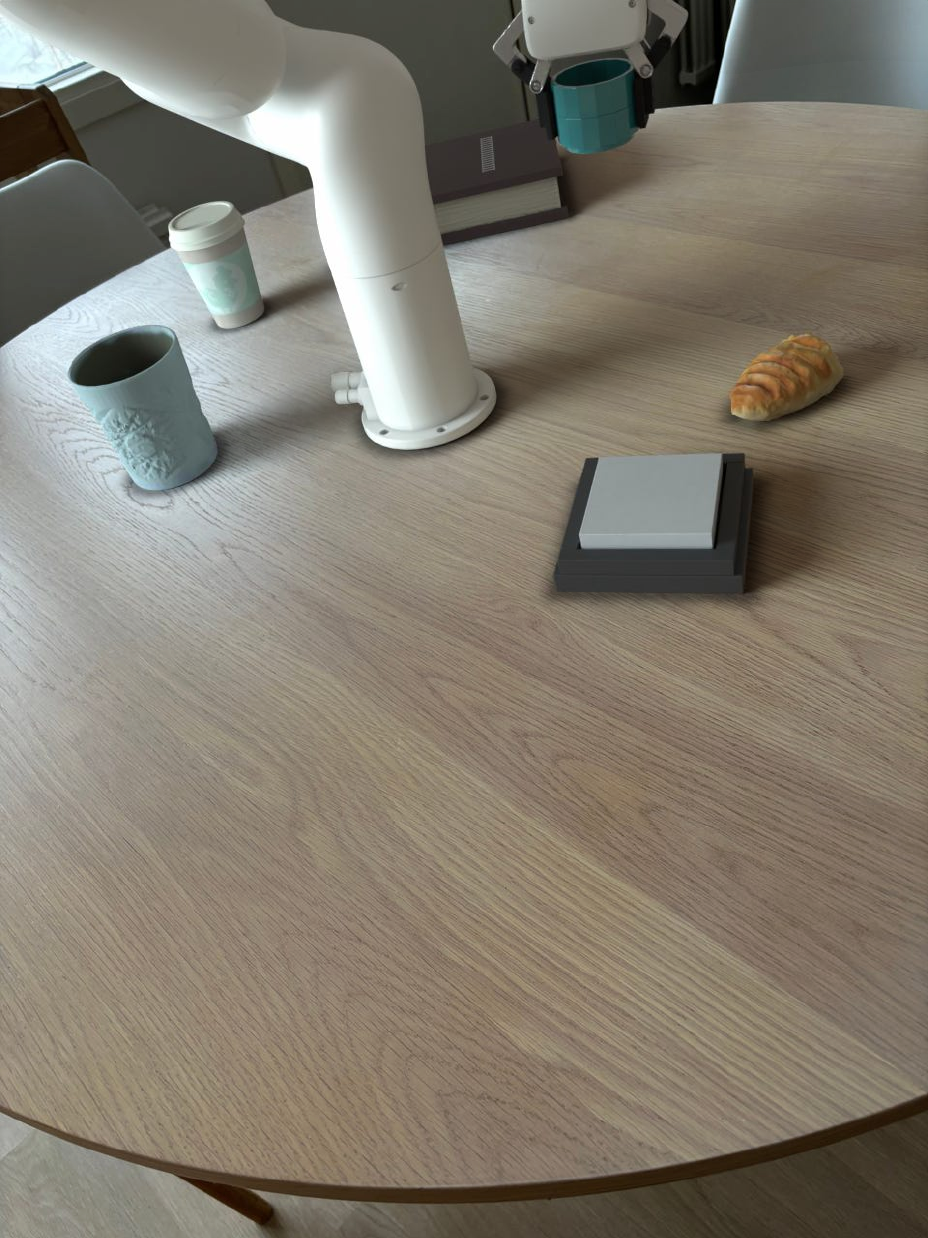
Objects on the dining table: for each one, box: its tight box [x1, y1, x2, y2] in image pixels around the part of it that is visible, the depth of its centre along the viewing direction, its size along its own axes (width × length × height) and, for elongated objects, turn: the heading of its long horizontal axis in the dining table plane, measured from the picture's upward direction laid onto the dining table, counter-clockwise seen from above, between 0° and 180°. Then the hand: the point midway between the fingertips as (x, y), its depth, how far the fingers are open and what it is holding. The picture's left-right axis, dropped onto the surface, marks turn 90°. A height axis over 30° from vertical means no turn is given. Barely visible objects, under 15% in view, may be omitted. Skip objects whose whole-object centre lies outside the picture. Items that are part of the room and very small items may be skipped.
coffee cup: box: [168, 200, 265, 330], centre depth 114 cm, size 8×8×12 cm
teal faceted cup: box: [550, 57, 640, 155], centre depth 88 cm, size 7×7×6 cm
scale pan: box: [579, 452, 723, 549], centre depth 72 cm, size 9×9×2 cm
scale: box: [552, 452, 754, 595], centre depth 73 cm, size 13×12×3 cm
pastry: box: [729, 333, 845, 422], centre depth 82 cm, size 9×7×4 cm
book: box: [425, 118, 570, 246], centre depth 125 cm, size 28×20×6 cm
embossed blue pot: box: [66, 324, 219, 491], centre depth 93 cm, size 10×10×12 cm
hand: (598, 127), depth 90 cm, fingers closed on teal faceted cup, 7 cm apart
